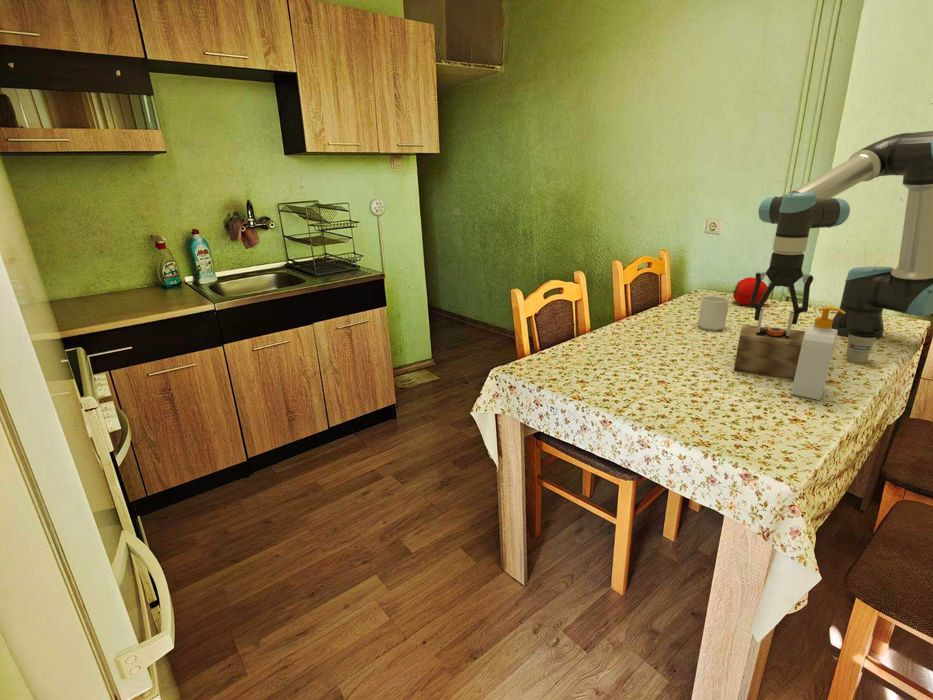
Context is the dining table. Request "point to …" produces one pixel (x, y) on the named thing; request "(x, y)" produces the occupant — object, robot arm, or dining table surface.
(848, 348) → the coffee cup
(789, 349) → the deposit box
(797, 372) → the soap bottle
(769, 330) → the pill bottle
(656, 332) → the dining table surface
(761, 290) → the tomato
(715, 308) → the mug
